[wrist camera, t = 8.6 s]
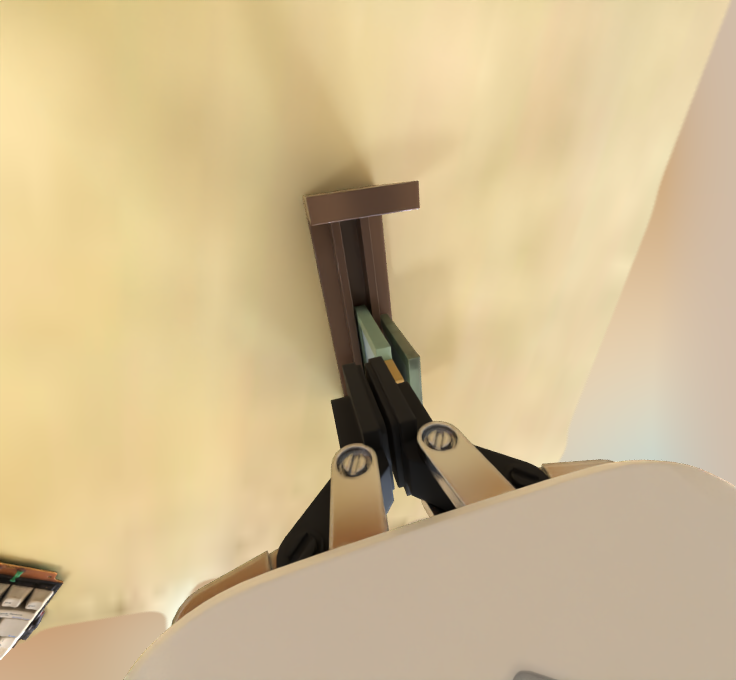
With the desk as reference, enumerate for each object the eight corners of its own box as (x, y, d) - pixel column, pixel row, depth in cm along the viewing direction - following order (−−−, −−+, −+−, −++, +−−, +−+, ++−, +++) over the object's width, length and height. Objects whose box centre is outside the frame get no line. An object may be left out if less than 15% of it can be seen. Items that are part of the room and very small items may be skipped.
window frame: (345, 400, 39) (362, 474, 29) (302, 196, 28) (305, 197, 18) (396, 388, 40) (431, 455, 29) (375, 185, 29) (419, 180, 18)
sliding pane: (365, 380, 36) (397, 467, 25) (353, 306, 32) (385, 369, 20) (375, 378, 36) (411, 463, 25) (364, 304, 32) (402, 365, 20)
